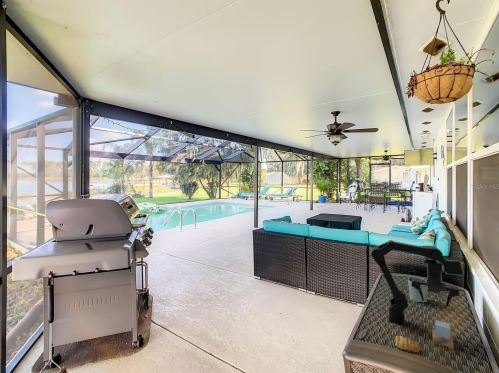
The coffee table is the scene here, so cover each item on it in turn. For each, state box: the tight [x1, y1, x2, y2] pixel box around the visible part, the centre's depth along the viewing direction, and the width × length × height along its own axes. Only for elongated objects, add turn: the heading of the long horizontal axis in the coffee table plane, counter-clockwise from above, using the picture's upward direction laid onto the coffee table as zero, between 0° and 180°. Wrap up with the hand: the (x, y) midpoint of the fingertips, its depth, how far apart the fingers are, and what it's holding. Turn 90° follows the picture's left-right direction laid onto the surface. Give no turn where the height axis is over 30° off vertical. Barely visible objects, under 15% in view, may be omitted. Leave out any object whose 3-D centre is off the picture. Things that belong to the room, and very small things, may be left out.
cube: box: [434, 319, 451, 340], centre depth 111 cm, size 5×5×5 cm
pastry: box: [394, 335, 421, 353], centre depth 107 cm, size 9×7×4 cm
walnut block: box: [431, 328, 454, 350], centre depth 111 cm, size 7×7×4 cm
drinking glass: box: [407, 277, 428, 304], centre depth 151 cm, size 10×10×12 cm
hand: (434, 303), depth 121 cm, fingers open, 9 cm apart
